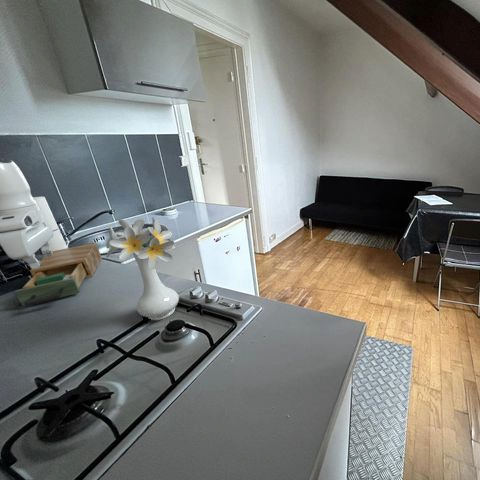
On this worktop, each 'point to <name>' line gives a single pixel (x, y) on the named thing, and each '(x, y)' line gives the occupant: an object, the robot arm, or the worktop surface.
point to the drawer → (52, 285)
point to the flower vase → (147, 264)
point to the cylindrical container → (51, 225)
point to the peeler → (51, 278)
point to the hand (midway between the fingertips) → (43, 261)
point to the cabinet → (72, 259)
